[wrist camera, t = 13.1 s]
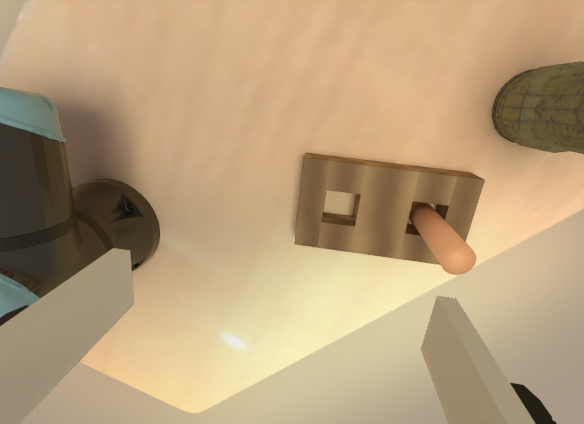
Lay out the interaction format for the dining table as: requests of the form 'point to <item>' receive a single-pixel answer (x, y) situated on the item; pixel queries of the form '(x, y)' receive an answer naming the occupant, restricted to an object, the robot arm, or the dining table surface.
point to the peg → (442, 239)
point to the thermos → (543, 108)
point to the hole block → (381, 205)
